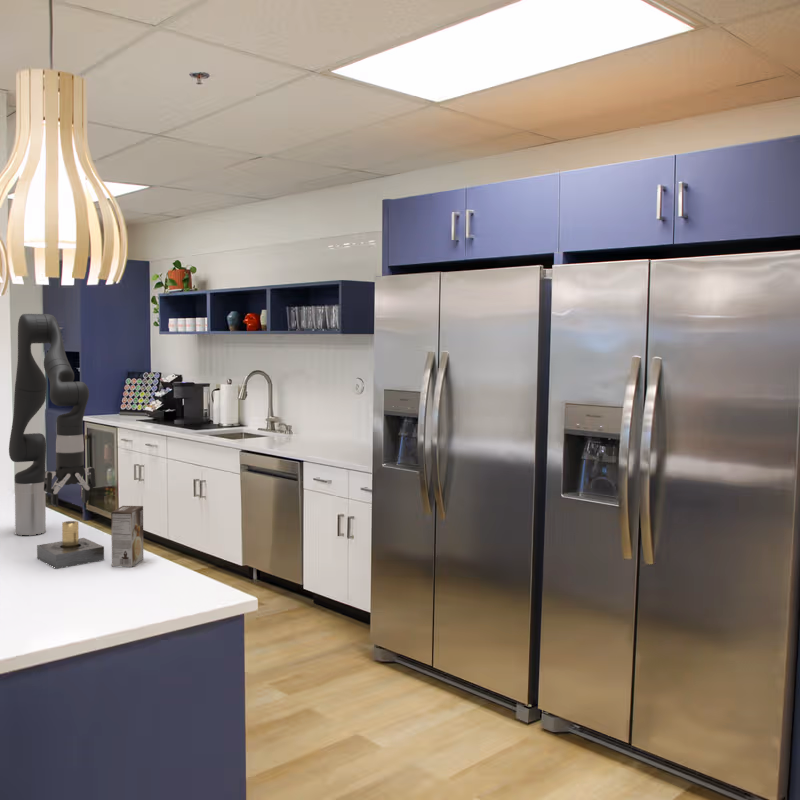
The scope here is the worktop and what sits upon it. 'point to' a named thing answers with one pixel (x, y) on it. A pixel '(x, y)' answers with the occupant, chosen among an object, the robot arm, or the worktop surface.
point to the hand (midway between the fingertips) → (70, 504)
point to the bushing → (70, 534)
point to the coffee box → (127, 535)
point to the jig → (70, 553)
